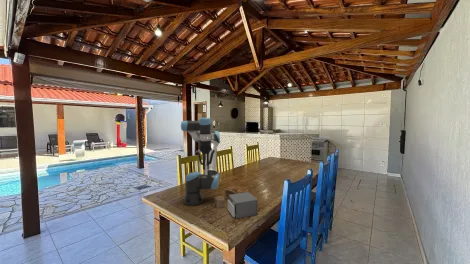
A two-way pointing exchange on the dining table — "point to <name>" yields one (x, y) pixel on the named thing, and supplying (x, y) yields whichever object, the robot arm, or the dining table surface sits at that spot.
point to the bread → (234, 191)
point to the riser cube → (219, 202)
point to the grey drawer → (231, 209)
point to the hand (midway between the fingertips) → (206, 174)
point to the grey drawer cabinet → (244, 204)
